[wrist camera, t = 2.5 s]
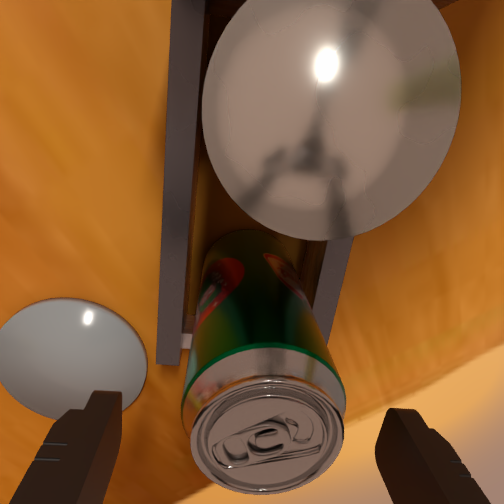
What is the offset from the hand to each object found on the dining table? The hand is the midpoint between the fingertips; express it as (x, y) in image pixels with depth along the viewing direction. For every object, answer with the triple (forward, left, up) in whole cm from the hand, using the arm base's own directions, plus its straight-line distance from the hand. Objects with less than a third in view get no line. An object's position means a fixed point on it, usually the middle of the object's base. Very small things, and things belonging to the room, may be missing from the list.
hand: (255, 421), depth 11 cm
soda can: (0, 0, -11) cm, 11 cm away
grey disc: (+7, -10, -11) cm, 17 cm away
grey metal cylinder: (-9, 0, -11) cm, 14 cm away
